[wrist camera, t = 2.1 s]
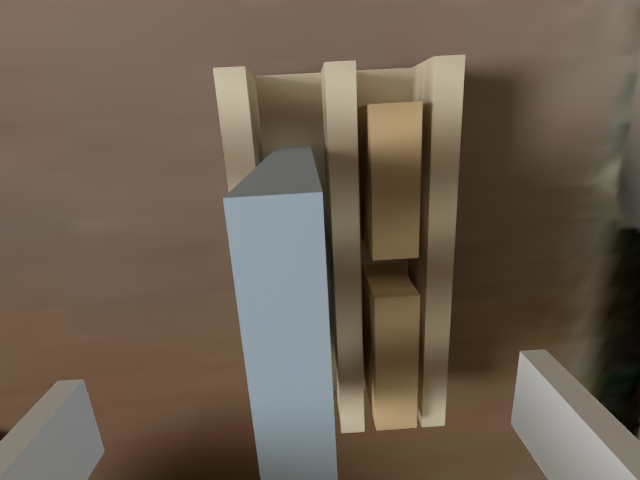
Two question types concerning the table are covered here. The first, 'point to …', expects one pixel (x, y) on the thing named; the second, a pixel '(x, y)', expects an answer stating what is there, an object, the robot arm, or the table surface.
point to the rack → (344, 196)
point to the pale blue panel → (285, 313)
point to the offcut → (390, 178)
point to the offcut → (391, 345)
